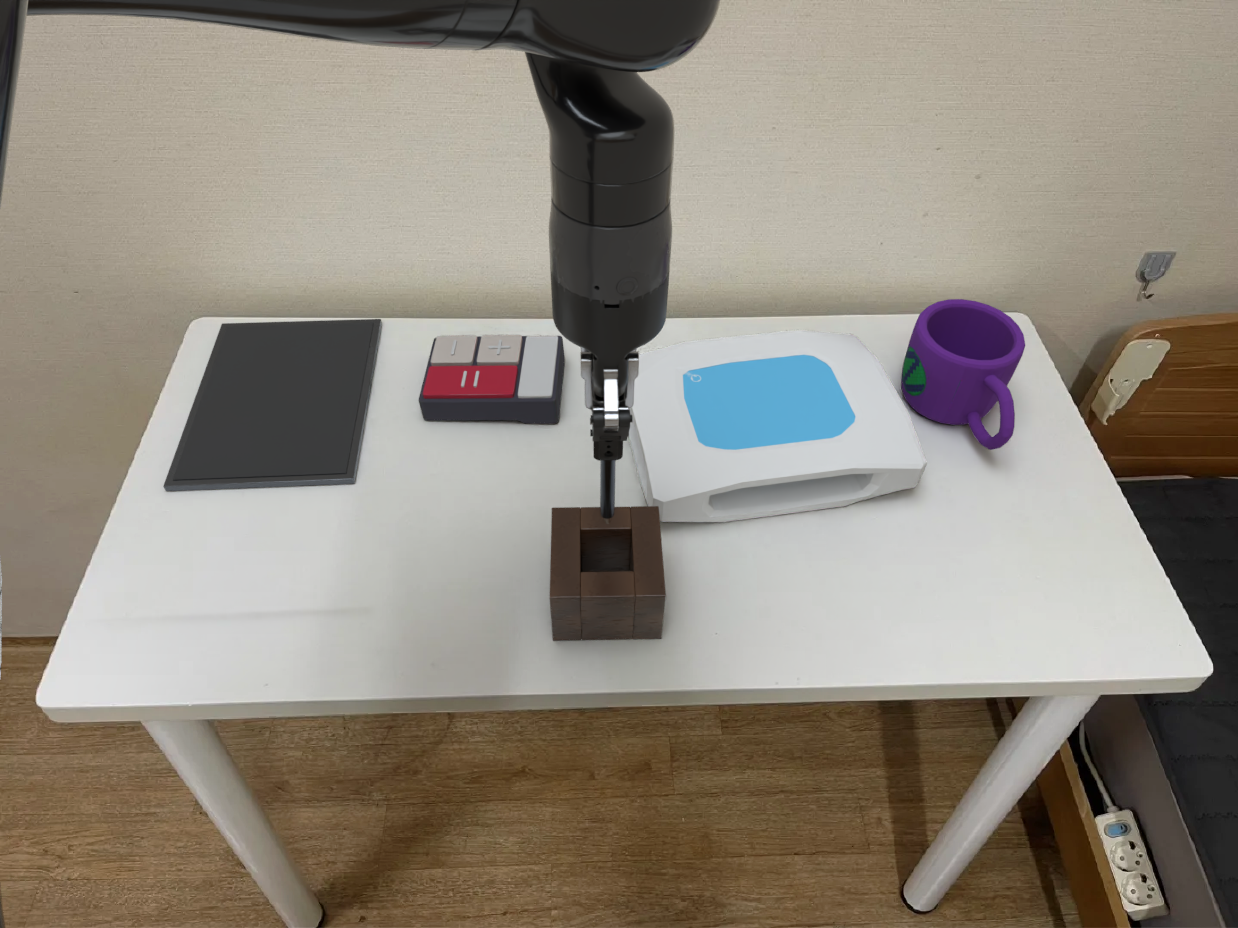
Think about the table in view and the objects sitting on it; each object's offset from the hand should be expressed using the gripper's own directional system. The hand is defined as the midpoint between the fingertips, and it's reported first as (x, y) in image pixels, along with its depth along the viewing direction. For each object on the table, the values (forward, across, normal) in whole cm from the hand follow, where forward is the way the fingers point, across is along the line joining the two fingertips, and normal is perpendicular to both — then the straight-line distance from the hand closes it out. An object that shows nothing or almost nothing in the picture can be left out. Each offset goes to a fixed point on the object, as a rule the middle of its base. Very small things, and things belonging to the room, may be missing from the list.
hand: (607, 448), depth 68 cm
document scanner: (+20, -20, +17) cm, 33 cm away
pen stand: (+20, 0, 0) cm, 20 cm away
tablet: (+20, -27, -35) cm, 49 cm away
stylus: (+9, 0, 0) cm, 9 cm away
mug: (+20, -23, +40) cm, 50 cm away
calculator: (+20, -28, -12) cm, 37 cm away
